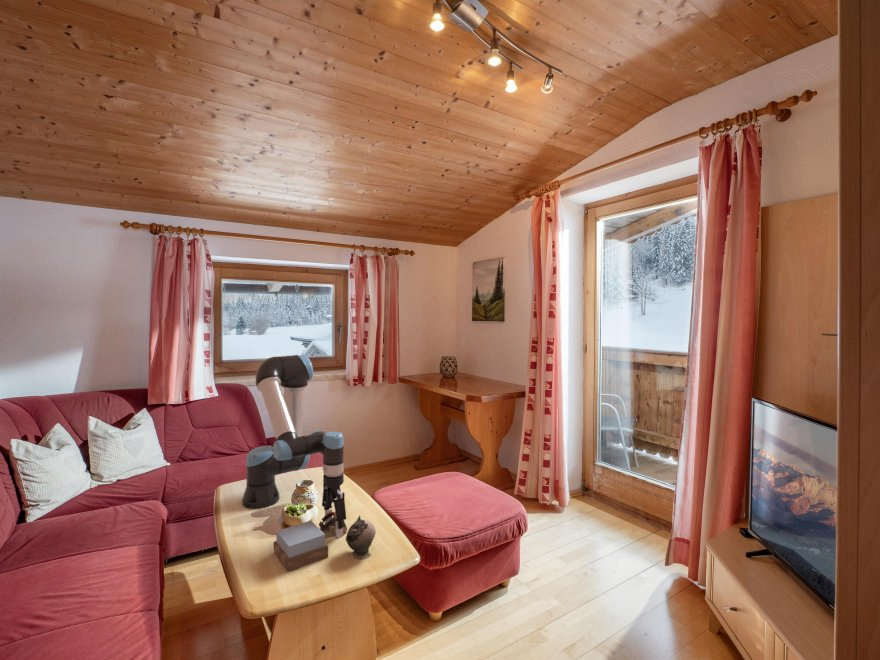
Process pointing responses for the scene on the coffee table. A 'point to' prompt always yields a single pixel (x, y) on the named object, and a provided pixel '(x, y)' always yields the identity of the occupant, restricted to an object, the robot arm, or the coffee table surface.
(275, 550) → the base brick
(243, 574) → the coffee table surface
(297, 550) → the top brick
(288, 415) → the robot arm
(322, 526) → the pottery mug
